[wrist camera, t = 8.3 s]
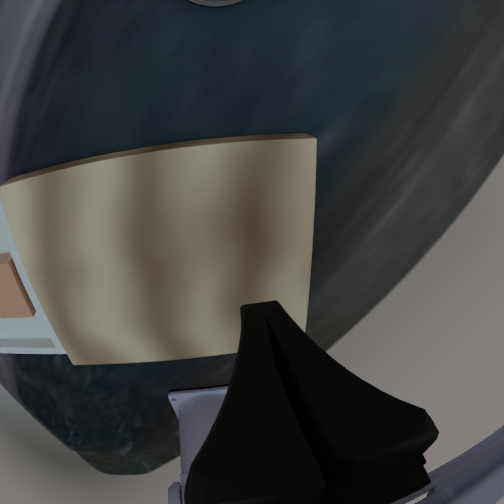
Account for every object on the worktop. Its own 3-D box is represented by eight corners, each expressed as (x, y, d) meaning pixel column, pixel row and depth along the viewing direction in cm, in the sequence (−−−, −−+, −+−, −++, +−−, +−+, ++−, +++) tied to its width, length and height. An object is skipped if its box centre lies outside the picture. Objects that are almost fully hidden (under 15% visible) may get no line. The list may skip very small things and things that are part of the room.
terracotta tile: (17, 251, 18) (8, 262, 17) (39, 304, 21) (33, 317, 19) (-24, 258, 17) (-33, 268, 16) (-1, 306, 20) (-8, 318, 19)
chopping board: (305, 133, 18) (316, 138, 17) (297, 325, 26) (304, 341, 25) (11, 177, 16) (-3, 187, 14) (78, 348, 24) (73, 364, 22)
